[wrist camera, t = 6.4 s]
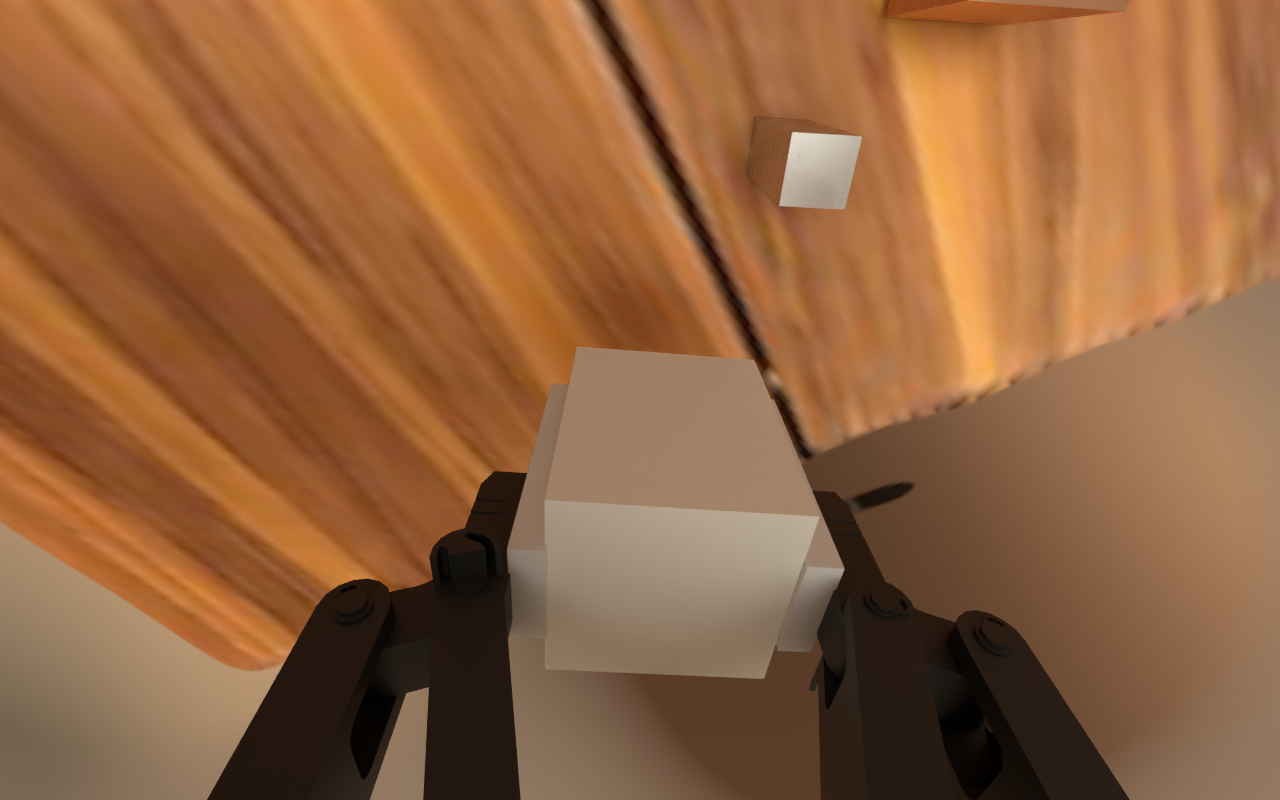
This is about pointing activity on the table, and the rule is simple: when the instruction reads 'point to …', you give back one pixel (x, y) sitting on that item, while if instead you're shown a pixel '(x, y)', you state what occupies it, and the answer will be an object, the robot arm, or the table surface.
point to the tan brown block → (1001, 10)
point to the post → (803, 162)
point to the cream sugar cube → (671, 518)
